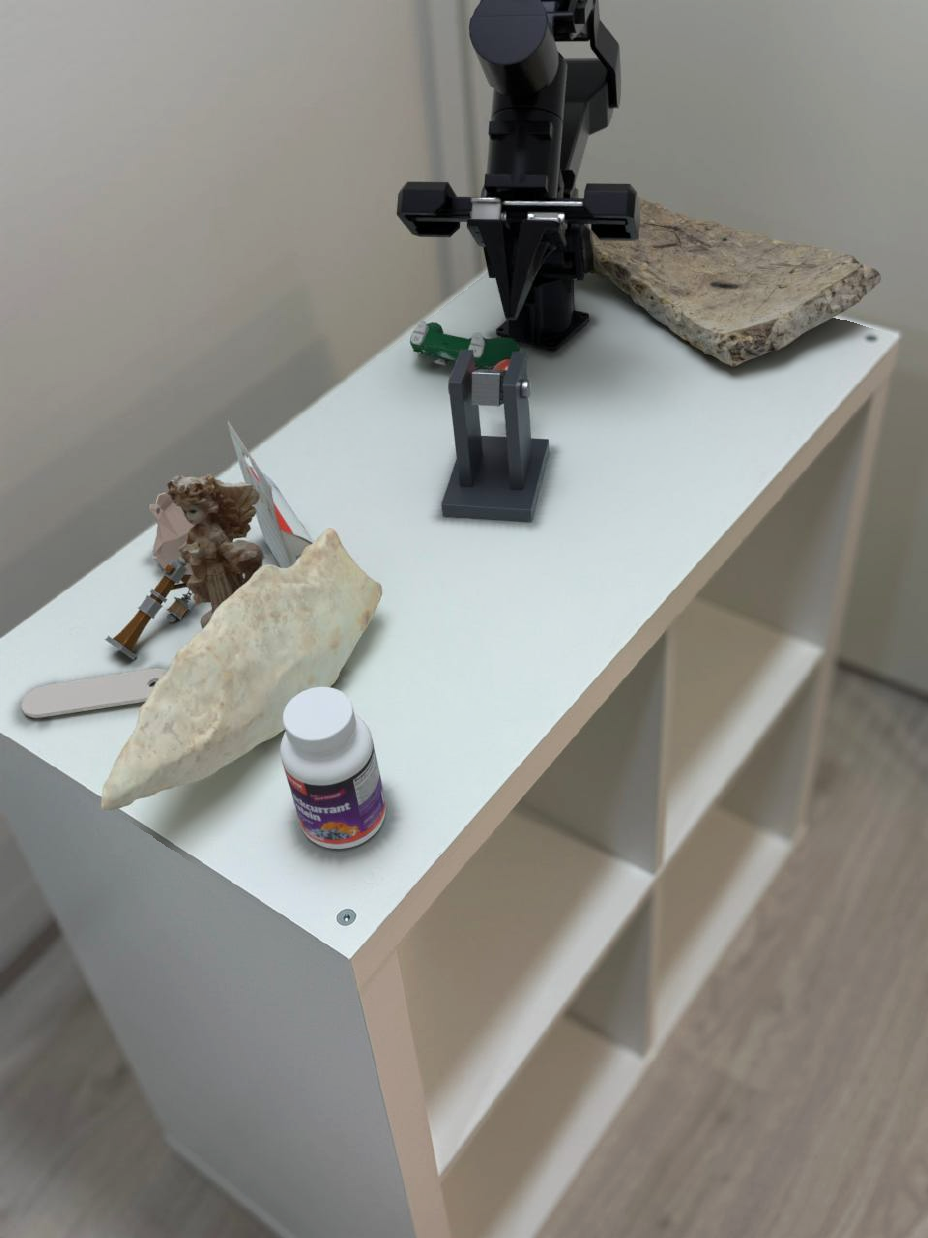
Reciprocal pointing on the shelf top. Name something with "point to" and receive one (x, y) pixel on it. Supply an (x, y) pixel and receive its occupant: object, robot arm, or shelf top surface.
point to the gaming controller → (460, 345)
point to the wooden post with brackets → (155, 607)
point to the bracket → (494, 450)
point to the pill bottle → (331, 769)
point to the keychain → (90, 693)
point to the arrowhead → (246, 670)
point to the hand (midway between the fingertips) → (510, 319)
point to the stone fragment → (730, 283)
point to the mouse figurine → (169, 531)
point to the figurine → (216, 536)
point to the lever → (489, 385)
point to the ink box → (273, 511)
